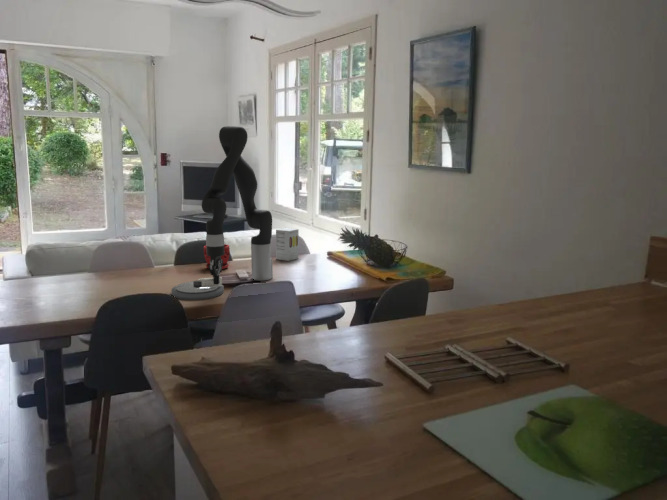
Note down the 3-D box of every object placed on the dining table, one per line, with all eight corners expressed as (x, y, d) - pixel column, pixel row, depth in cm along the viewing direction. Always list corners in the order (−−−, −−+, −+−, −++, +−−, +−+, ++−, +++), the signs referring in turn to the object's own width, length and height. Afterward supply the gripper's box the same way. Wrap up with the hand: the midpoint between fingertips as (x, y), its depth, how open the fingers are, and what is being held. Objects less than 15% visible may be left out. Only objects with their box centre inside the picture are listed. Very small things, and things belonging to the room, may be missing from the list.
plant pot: (235, 267, 298) (234, 244, 296) (217, 272, 287) (216, 248, 285) (216, 264, 305) (216, 242, 303) (198, 268, 294) (198, 245, 292)
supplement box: (288, 261, 314) (288, 231, 310) (275, 259, 319) (275, 229, 315) (299, 258, 322) (298, 228, 318) (286, 256, 326) (285, 227, 323)
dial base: (203, 283, 263) (203, 279, 263) (234, 292, 249) (233, 287, 249) (161, 293, 247) (161, 288, 247) (191, 302, 233) (191, 297, 232)
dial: (177, 295, 236) (177, 285, 236) (174, 284, 253) (174, 276, 252) (225, 291, 243) (224, 282, 242) (219, 281, 259) (218, 272, 259)
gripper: (218, 247, 236) (219, 288, 239) (228, 241, 249) (229, 280, 252) (201, 246, 237) (202, 287, 240) (212, 241, 250) (213, 279, 253)
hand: (216, 283), depth 246 cm, fingers closed
